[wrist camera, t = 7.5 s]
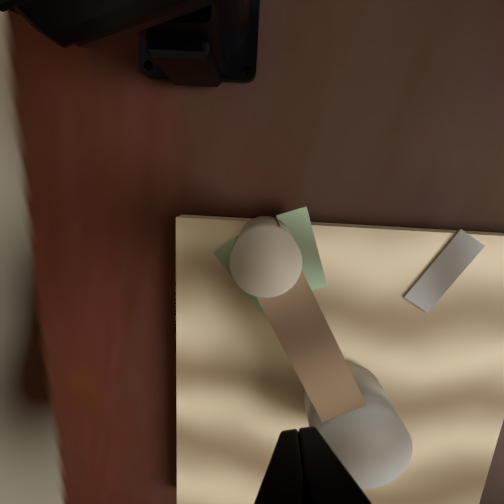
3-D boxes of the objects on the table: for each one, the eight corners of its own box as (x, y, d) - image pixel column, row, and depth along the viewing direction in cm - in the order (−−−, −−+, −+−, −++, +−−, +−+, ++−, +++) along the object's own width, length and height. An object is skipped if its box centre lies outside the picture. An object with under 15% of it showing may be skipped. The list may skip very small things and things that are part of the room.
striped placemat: (182, 197, 19) (174, 199, 17) (536, 217, 18) (563, 220, 17) (182, 488, 24) (176, 510, 22) (458, 508, 24) (472, 532, 22)
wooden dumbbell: (393, 413, 19) (437, 489, 15) (322, 439, 20) (342, 521, 15) (293, 197, 17) (306, 203, 12) (214, 236, 17) (195, 258, 12)
